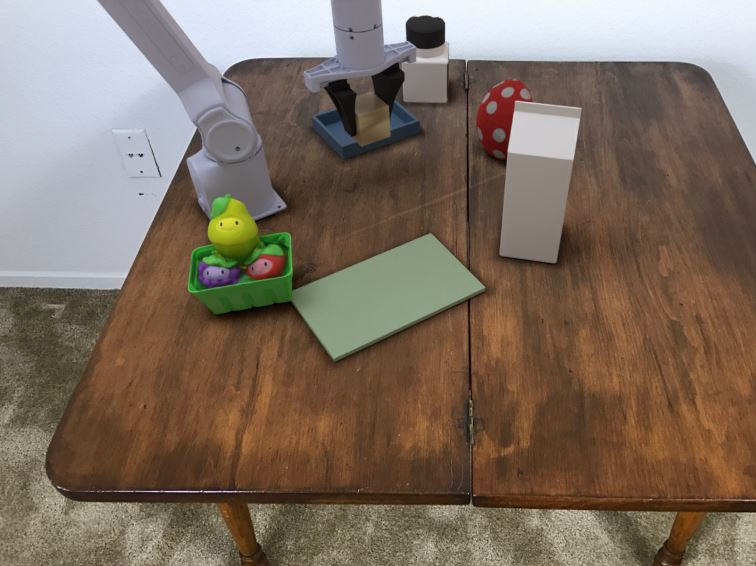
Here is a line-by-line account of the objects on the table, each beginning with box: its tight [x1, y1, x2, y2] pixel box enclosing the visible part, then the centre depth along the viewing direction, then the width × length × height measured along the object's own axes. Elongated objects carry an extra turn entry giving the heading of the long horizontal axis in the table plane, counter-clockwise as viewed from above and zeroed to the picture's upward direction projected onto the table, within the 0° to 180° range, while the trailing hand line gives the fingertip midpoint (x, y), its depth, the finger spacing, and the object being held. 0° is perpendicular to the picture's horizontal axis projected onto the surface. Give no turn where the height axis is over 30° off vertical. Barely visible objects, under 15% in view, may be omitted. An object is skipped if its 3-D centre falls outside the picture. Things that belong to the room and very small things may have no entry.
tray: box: [310, 99, 421, 160], centre depth 102 cm, size 13×10×2 cm
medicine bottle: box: [401, 13, 450, 104], centre depth 107 cm, size 7×7×12 cm
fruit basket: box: [187, 195, 294, 315], centre depth 75 cm, size 11×9×11 cm
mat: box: [290, 232, 486, 363], centre depth 80 cm, size 20×12×1 cm, turn 124°
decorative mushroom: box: [475, 78, 534, 161], centre depth 98 cm, size 11×11×15 cm
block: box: [345, 91, 391, 147], centre depth 88 cm, size 4×4×4 cm
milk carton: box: [499, 101, 583, 264], centre depth 79 cm, size 7×7×19 cm
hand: (367, 127), depth 89 cm, fingers closed on block, 4 cm apart
